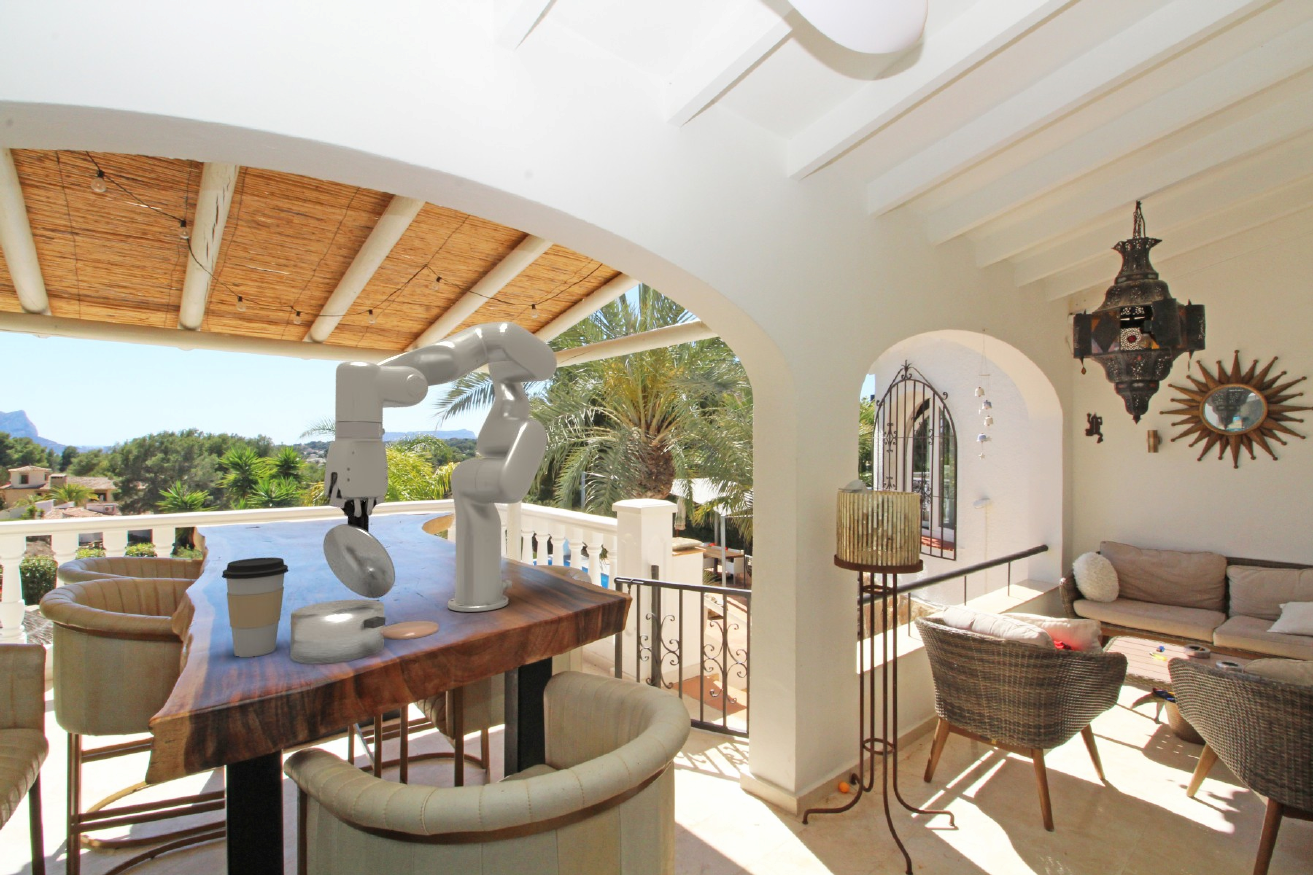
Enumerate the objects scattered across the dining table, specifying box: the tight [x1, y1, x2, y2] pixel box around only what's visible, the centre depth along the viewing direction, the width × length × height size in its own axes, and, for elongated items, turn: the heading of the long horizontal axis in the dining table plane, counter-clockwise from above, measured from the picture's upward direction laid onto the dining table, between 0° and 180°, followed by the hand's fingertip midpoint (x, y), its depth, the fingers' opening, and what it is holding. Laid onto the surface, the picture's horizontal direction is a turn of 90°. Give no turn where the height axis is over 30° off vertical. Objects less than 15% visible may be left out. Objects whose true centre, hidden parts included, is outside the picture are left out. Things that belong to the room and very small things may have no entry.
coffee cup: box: [221, 557, 290, 658], centre depth 106 cm, size 9×9×15 cm
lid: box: [322, 523, 396, 599], centre depth 111 cm, size 15×15×2 cm
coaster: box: [384, 620, 440, 640], centre depth 118 cm, size 10×10×1 cm
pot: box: [289, 598, 386, 665], centre depth 107 cm, size 14×18×7 cm
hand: (357, 538), depth 111 cm, fingers closed
